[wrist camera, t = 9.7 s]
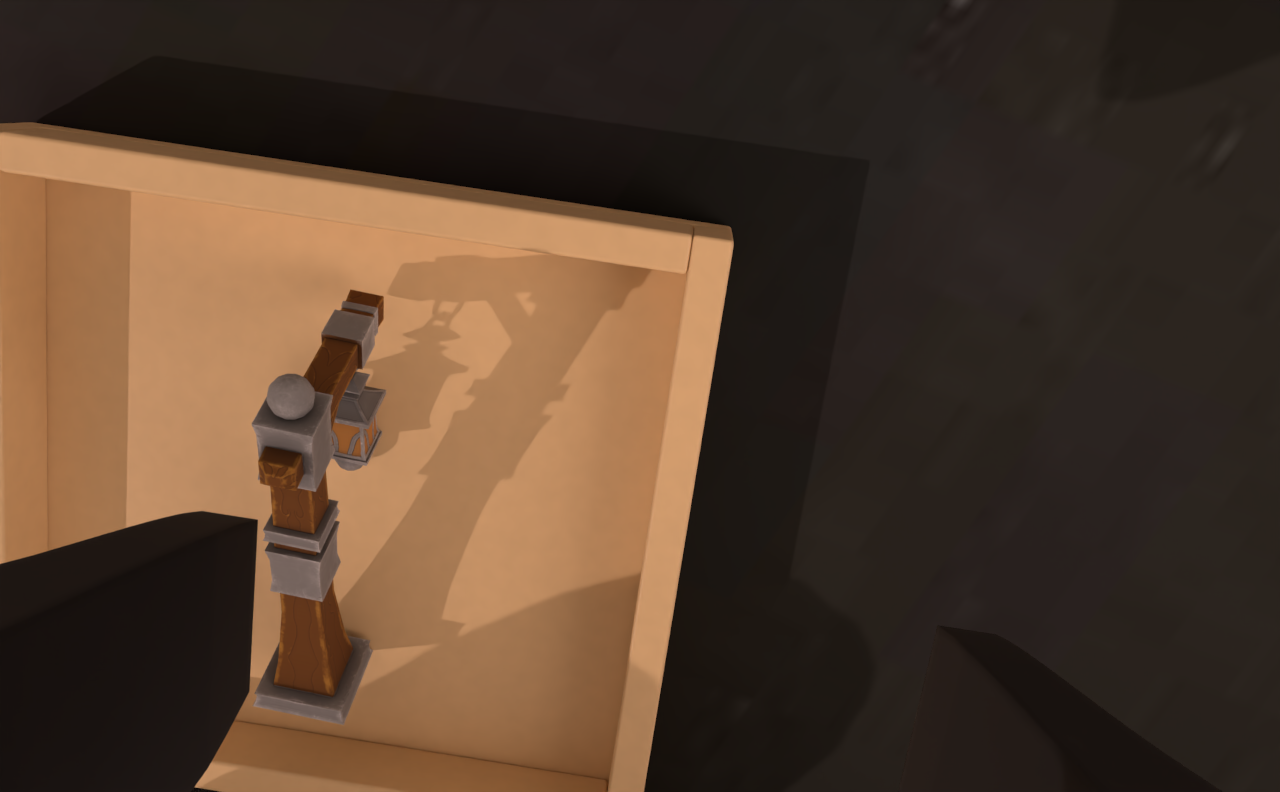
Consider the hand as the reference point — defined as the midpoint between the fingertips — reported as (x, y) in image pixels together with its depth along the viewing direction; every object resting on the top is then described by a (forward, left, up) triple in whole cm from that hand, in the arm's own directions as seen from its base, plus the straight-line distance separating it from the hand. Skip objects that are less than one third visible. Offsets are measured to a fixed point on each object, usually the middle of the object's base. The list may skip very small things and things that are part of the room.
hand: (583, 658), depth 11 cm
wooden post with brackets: (+6, +3, -10) cm, 12 cm away
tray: (+6, +3, -10) cm, 12 cm away
